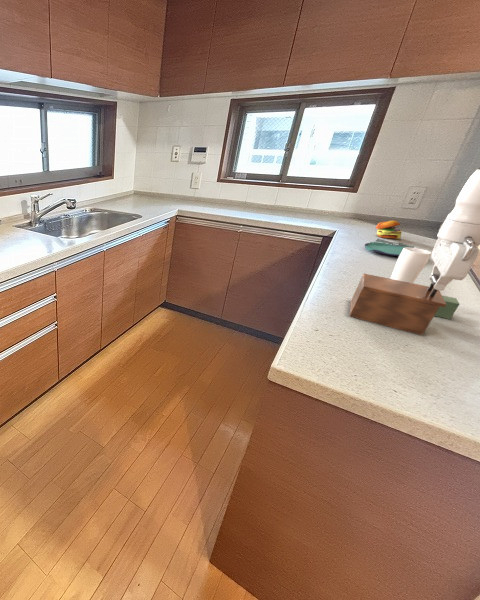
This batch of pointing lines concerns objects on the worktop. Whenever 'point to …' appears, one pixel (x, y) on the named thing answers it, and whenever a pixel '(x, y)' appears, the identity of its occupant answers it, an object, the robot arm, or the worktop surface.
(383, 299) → the chest
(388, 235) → the cheeseburger
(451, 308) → the block
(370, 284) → the lid
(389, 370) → the worktop surface
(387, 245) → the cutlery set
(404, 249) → the white tapered cylinder
